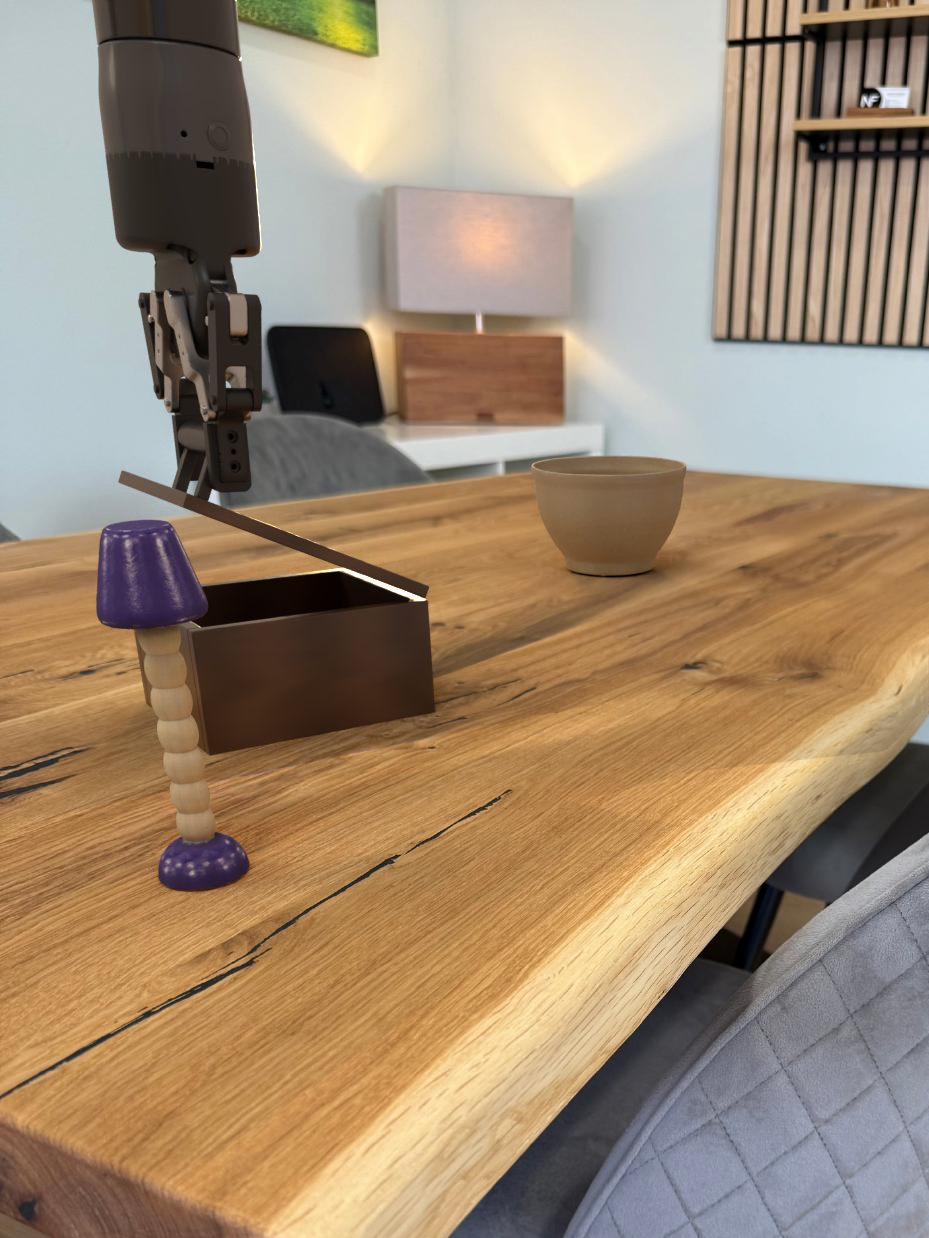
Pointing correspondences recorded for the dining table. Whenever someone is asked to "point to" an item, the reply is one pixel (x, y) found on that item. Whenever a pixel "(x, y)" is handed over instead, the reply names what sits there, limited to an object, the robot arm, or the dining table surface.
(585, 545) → the planter bowl
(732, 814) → the dining table surface
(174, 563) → the toy lamp
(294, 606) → the chest
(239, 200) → the robot arm
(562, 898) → the dining table surface
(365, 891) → the dining table surface
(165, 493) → the lid
